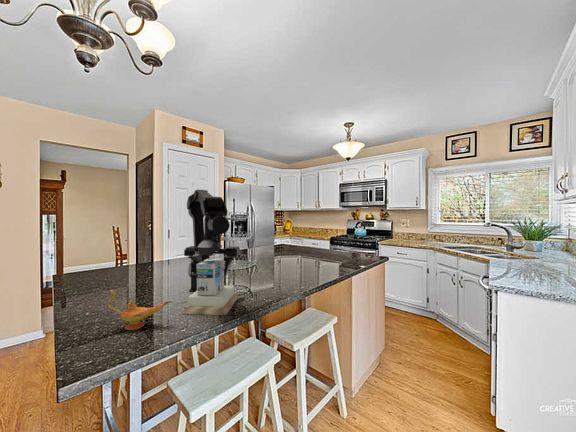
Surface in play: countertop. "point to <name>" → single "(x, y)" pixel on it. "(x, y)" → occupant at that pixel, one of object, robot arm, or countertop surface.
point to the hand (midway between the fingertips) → (212, 275)
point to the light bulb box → (210, 276)
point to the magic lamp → (135, 313)
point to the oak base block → (211, 308)
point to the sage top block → (212, 298)
